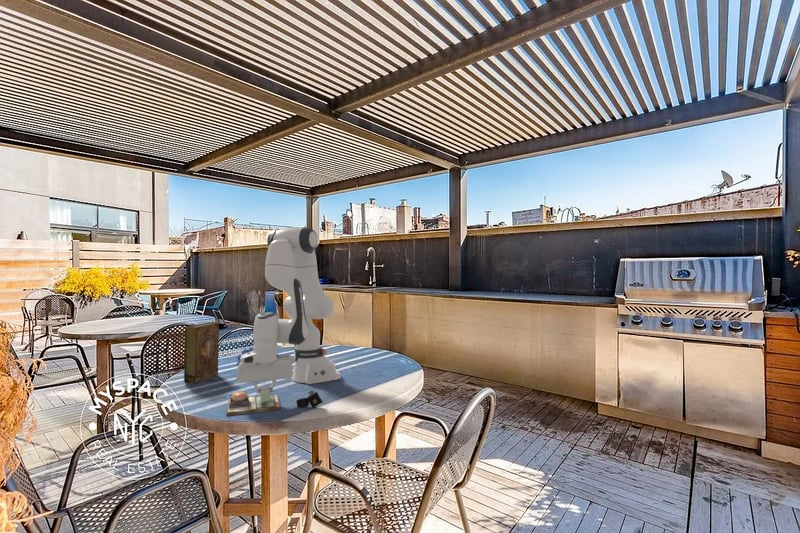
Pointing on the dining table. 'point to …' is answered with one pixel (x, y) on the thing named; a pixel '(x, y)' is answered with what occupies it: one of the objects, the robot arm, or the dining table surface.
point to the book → (201, 352)
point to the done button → (239, 396)
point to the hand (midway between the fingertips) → (264, 392)
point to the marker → (265, 393)
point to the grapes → (244, 353)
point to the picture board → (252, 405)
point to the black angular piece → (309, 400)
